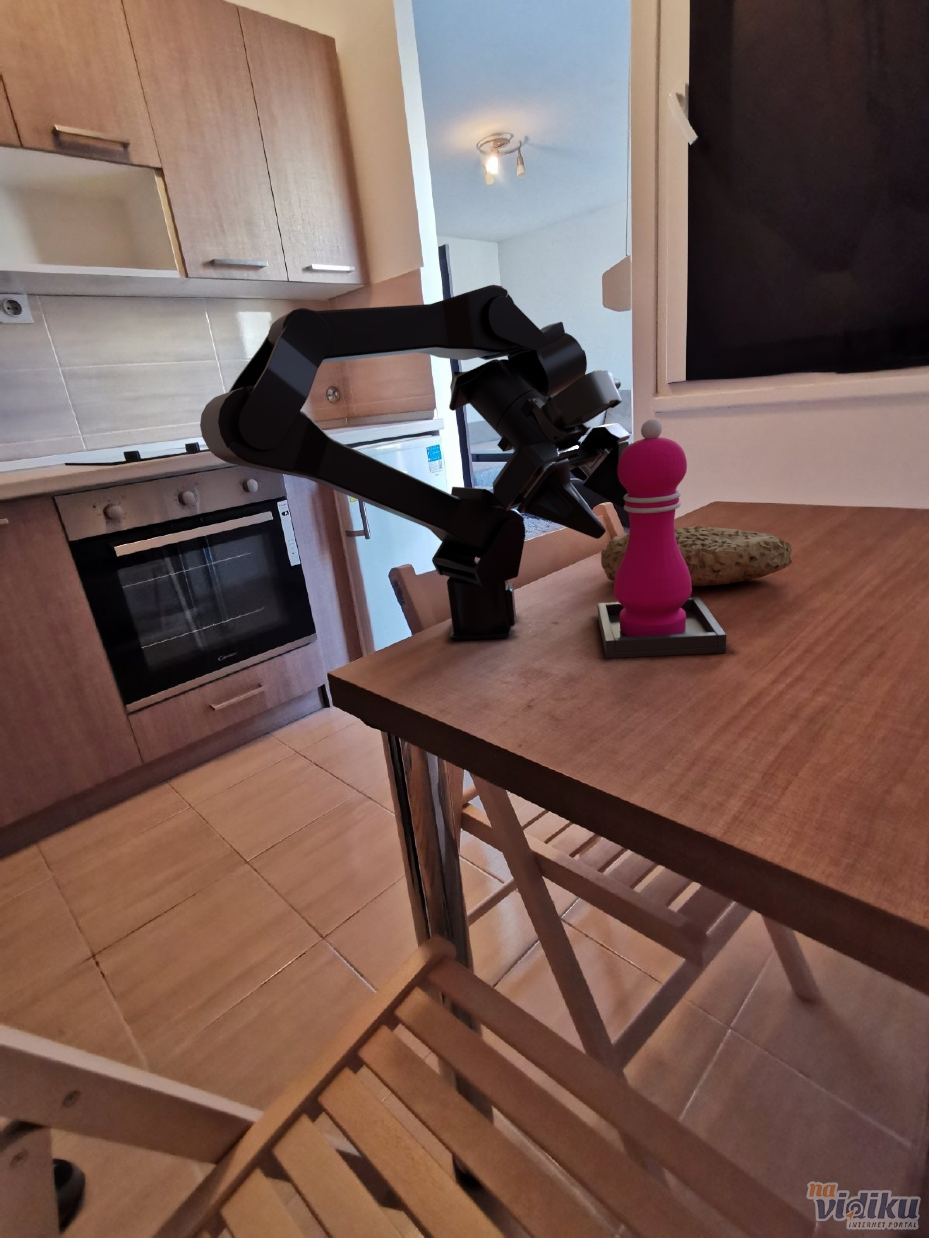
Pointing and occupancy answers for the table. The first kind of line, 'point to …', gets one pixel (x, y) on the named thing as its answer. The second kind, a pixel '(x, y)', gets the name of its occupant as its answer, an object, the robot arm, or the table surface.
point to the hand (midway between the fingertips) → (623, 523)
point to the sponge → (715, 554)
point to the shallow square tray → (696, 638)
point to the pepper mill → (652, 537)
